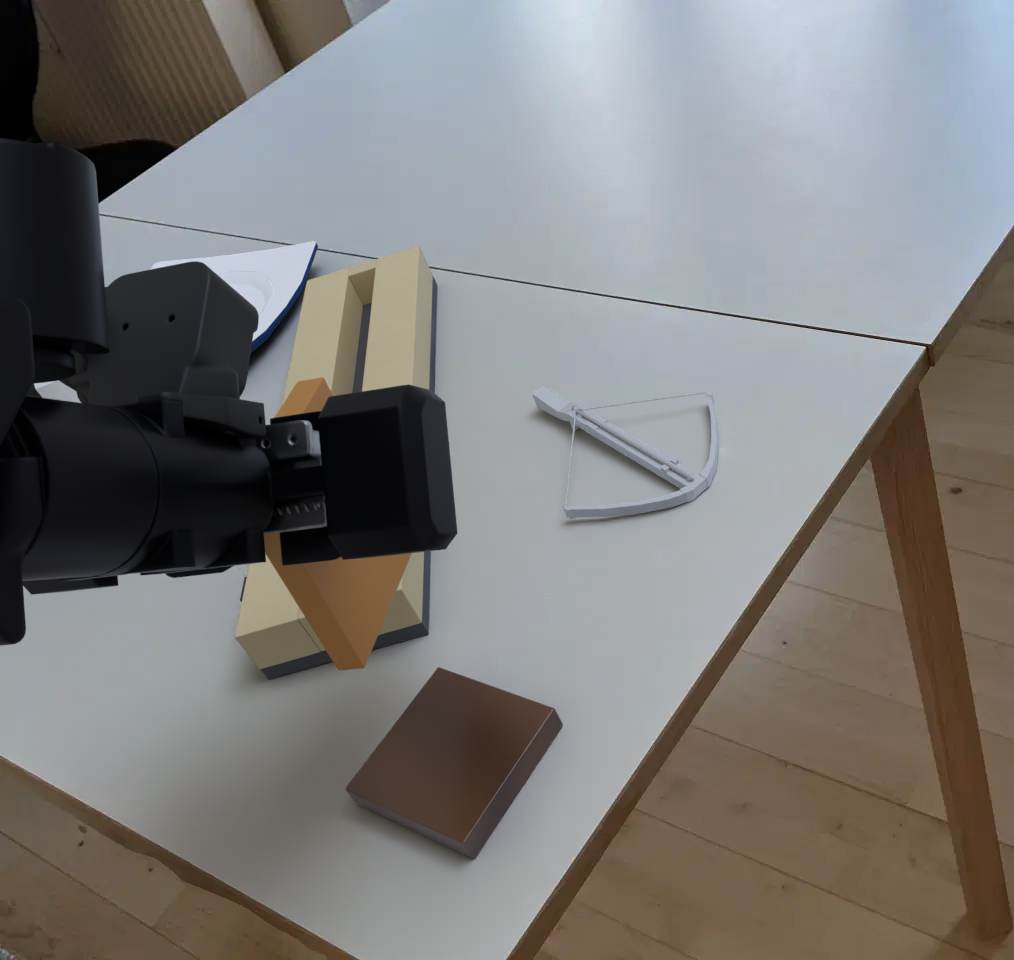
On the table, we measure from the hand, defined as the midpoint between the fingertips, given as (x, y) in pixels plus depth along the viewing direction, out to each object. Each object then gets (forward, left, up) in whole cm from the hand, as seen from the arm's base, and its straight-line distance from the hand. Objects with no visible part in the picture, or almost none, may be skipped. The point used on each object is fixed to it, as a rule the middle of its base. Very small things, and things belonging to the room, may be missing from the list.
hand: (335, 498), depth 52 cm
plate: (+23, +48, -14) cm, 56 cm away
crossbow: (+19, 0, -14) cm, 24 cm away
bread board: (-4, -4, -14) cm, 15 cm away
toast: (-2, -1, -6) cm, 6 cm away
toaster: (+15, +20, -14) cm, 28 cm away
